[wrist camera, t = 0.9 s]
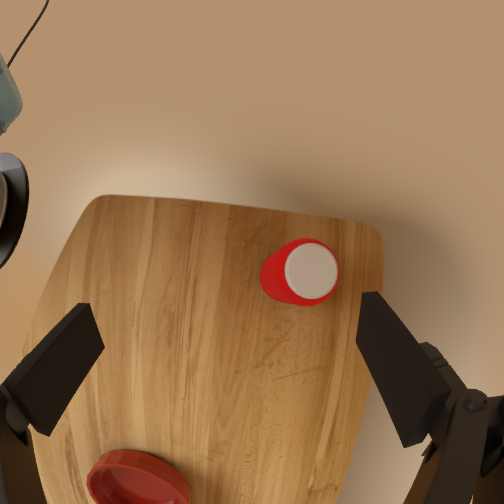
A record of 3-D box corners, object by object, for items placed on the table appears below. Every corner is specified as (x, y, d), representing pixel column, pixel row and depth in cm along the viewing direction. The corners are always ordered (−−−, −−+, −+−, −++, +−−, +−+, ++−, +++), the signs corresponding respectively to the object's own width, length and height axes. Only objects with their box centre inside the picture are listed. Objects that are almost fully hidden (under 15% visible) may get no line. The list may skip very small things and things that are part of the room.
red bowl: (89, 438, 29) (76, 452, 24) (187, 454, 31) (184, 473, 26) (108, 503, 27) (100, 519, 22) (195, 517, 29) (193, 536, 24)
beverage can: (267, 245, 36) (289, 224, 24) (312, 261, 36) (353, 248, 24) (252, 292, 35) (267, 294, 23) (298, 307, 35) (335, 315, 23)
